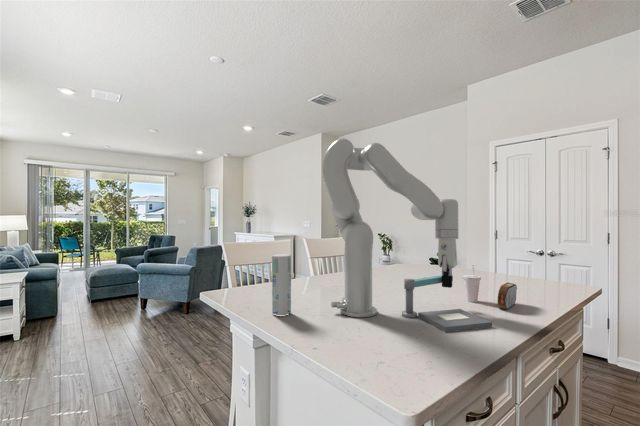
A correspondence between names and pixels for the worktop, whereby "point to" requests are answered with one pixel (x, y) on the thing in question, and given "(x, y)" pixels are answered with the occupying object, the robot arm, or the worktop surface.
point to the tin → (507, 295)
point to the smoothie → (472, 286)
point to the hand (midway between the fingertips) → (447, 286)
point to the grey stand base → (446, 317)
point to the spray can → (281, 284)
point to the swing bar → (422, 282)
